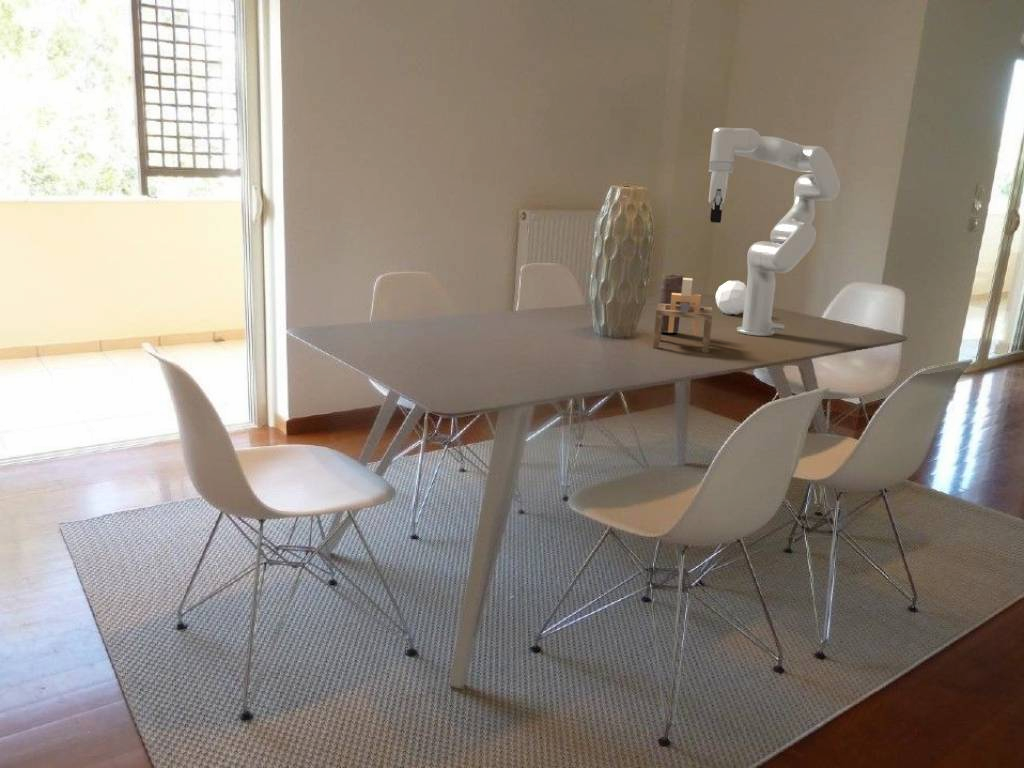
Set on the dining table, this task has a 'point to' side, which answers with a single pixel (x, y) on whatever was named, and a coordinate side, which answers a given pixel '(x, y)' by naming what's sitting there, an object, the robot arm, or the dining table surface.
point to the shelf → (665, 311)
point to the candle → (667, 288)
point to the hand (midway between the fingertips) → (715, 221)
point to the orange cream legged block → (685, 297)
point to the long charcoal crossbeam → (684, 307)
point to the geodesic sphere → (731, 297)
